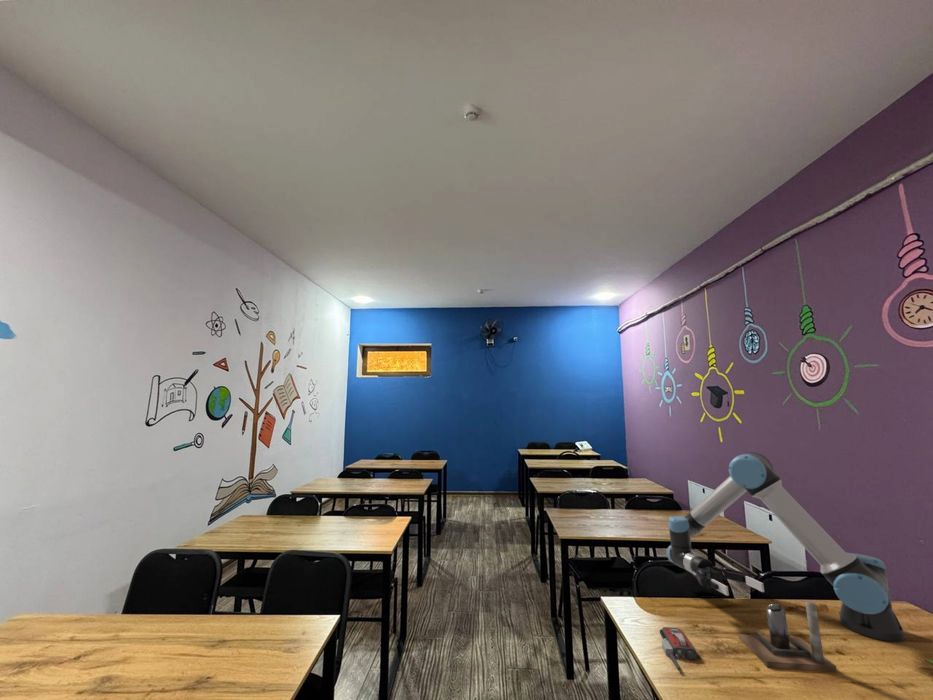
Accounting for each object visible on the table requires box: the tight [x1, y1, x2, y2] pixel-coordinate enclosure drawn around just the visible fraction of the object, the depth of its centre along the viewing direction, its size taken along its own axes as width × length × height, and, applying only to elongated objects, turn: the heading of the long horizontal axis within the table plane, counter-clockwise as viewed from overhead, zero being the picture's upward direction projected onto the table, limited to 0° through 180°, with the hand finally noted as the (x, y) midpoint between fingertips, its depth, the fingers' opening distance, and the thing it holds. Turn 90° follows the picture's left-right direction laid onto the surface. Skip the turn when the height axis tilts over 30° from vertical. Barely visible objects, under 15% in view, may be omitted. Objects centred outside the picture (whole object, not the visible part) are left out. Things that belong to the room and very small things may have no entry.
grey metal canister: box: [766, 603, 790, 649], centre depth 119 cm, size 5×5×12 cm
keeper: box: [738, 601, 838, 673], centre depth 117 cm, size 19×14×16 cm
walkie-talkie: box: [659, 626, 697, 672], centre depth 117 cm, size 9×4×20 cm
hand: (745, 589), depth 130 cm, fingers open, 13 cm apart
